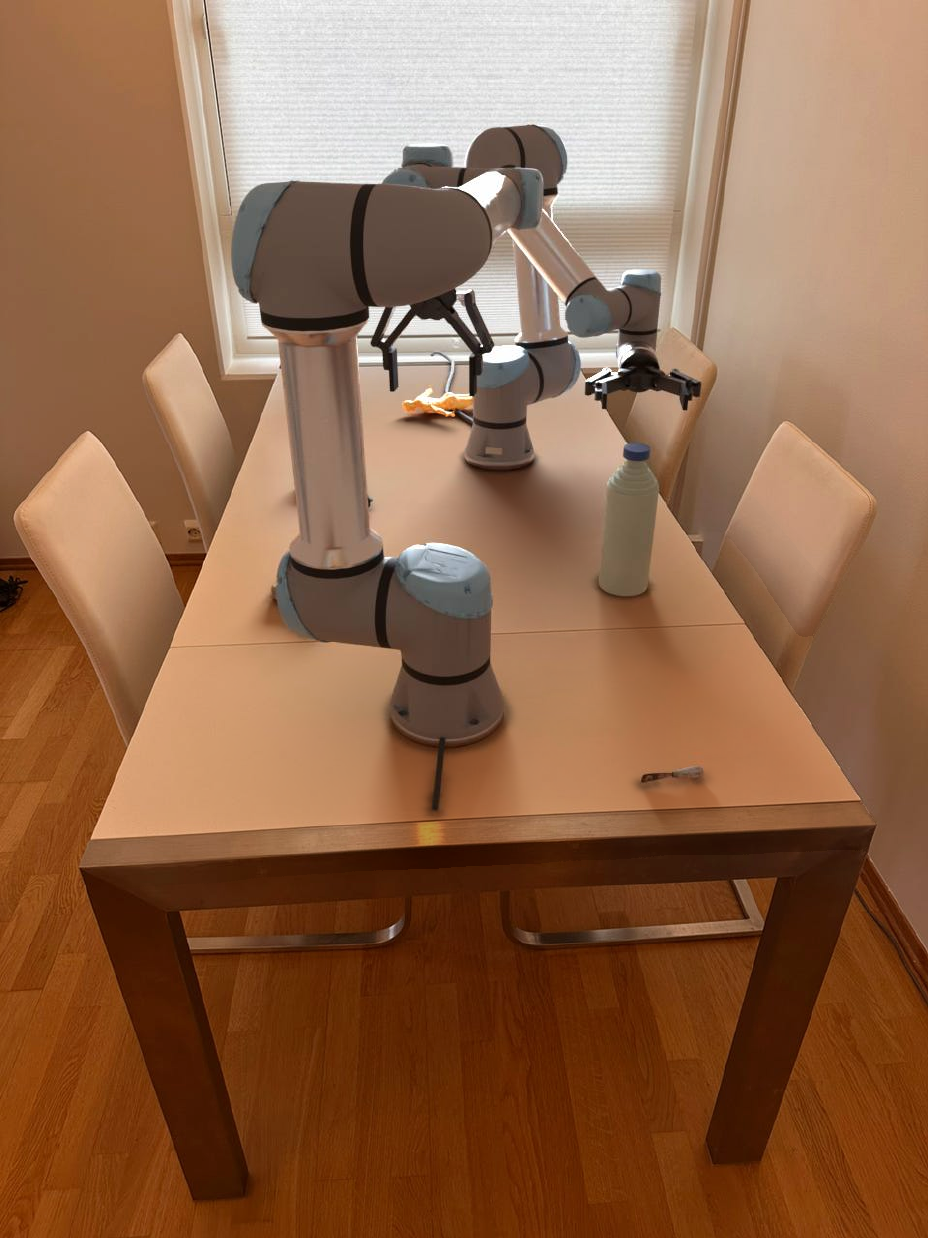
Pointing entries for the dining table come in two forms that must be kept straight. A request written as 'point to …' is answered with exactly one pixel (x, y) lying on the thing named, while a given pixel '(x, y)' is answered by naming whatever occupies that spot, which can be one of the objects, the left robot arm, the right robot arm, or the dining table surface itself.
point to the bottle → (628, 529)
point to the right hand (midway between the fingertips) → (645, 402)
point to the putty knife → (674, 774)
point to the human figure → (438, 403)
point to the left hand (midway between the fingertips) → (433, 391)
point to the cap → (636, 451)
